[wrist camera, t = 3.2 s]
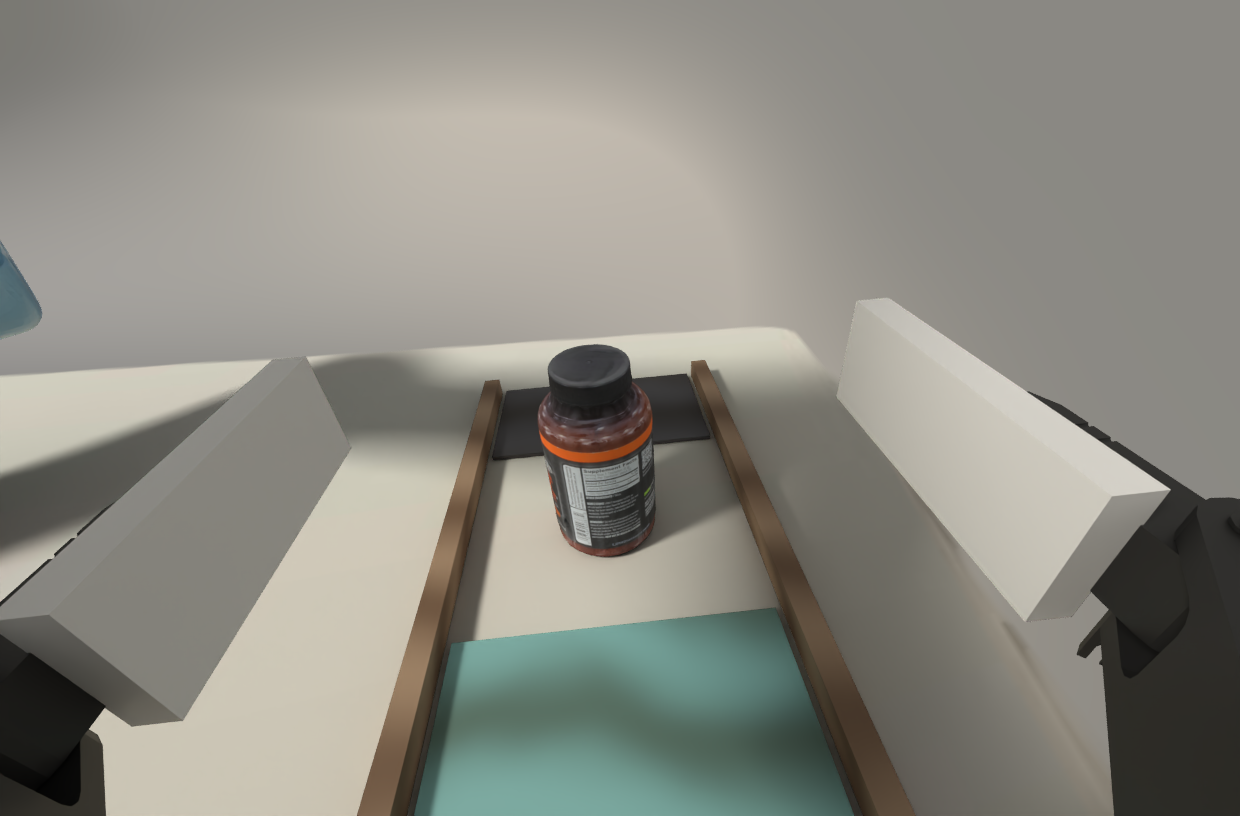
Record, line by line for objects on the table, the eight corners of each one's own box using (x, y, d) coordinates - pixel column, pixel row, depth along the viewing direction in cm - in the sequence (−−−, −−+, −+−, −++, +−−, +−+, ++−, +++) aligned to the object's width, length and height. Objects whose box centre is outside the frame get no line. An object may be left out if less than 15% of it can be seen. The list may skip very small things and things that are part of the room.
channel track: (909, 843, 17) (921, 828, 16) (349, 912, 16) (331, 902, 15) (704, 374, 43) (705, 360, 42) (489, 395, 42) (485, 380, 42)
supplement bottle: (561, 491, 32) (532, 338, 26) (650, 483, 32) (644, 328, 26) (556, 566, 27) (519, 400, 21) (661, 557, 27) (658, 388, 21)
